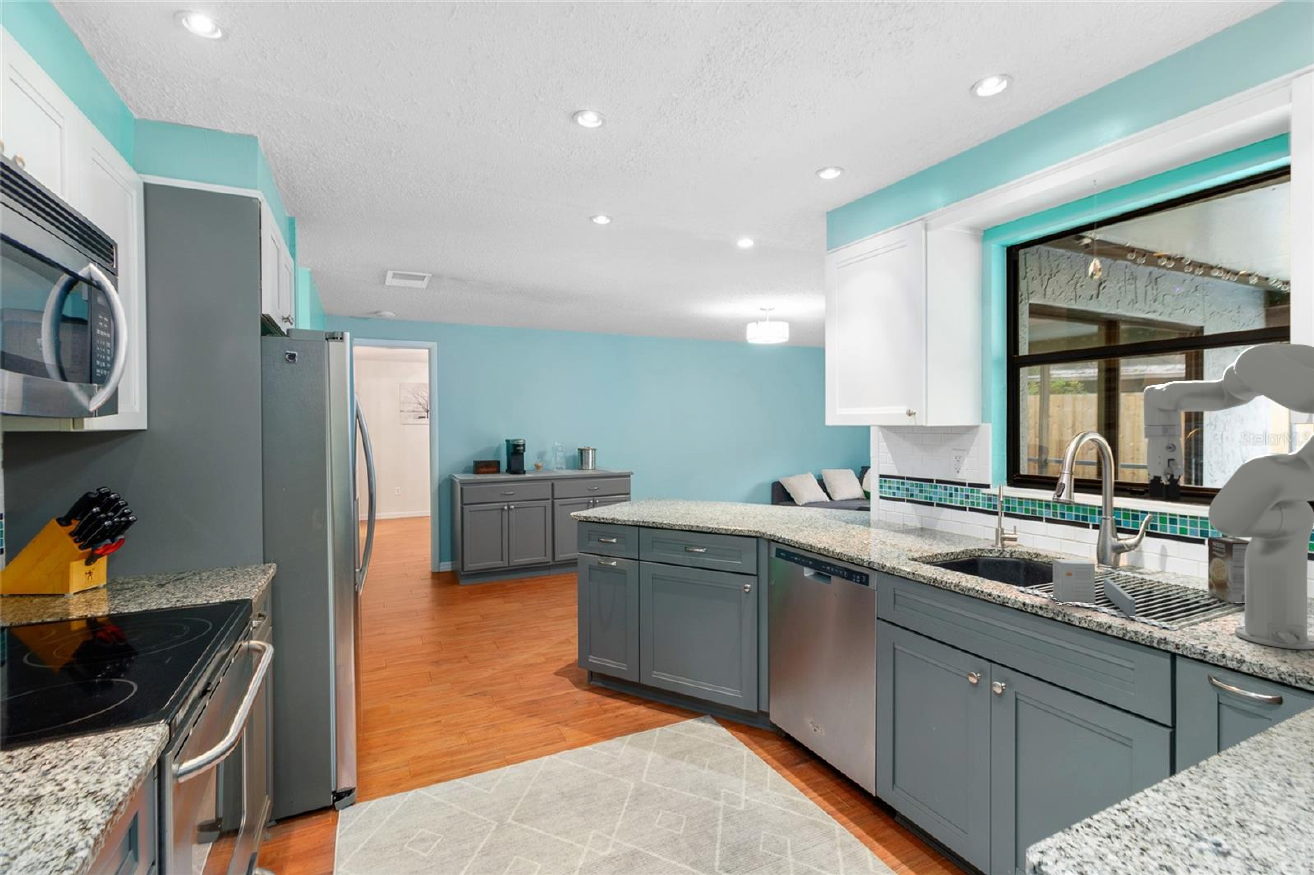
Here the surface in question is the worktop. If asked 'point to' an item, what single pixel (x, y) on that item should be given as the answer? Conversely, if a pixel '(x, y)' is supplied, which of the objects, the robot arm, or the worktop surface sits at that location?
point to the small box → (1074, 580)
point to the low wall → (1119, 597)
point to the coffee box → (1226, 568)
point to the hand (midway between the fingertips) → (1164, 498)
